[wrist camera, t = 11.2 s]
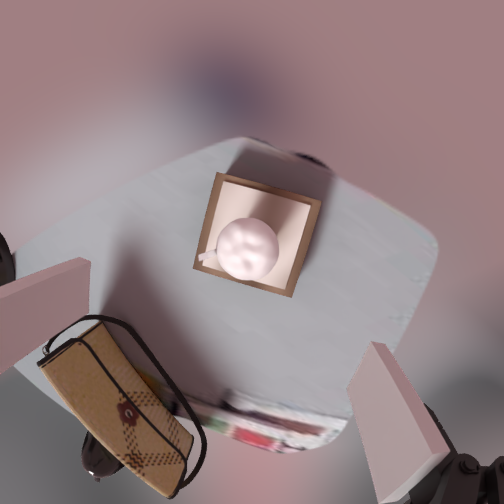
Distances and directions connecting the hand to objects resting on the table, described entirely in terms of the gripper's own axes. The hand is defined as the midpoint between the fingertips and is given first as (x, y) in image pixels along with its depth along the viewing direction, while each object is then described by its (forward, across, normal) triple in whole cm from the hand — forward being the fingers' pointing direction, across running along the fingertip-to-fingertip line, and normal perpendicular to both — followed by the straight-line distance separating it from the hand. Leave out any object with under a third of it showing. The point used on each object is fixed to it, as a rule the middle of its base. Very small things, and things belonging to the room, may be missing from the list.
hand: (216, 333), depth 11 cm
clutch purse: (+22, -10, -25) cm, 35 cm away
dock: (+22, 0, +2) cm, 22 cm away
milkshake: (+17, 0, +2) cm, 18 cm away
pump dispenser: (+22, -16, -40) cm, 49 cm away
